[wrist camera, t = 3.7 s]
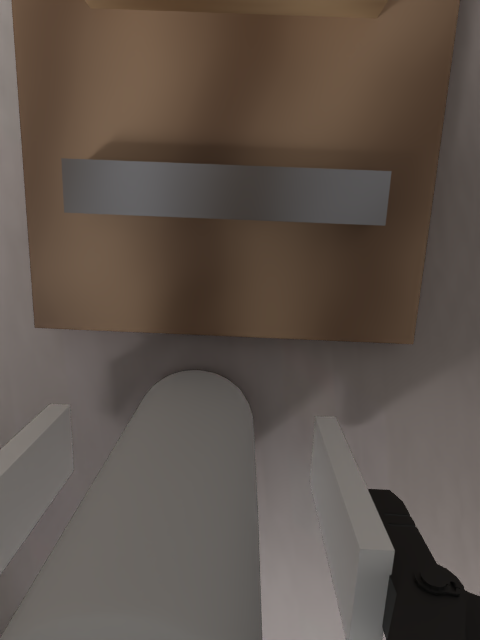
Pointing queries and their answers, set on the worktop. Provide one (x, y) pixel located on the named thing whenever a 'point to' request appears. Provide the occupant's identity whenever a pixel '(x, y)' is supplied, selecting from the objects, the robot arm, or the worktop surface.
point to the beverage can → (161, 529)
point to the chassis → (231, 163)
